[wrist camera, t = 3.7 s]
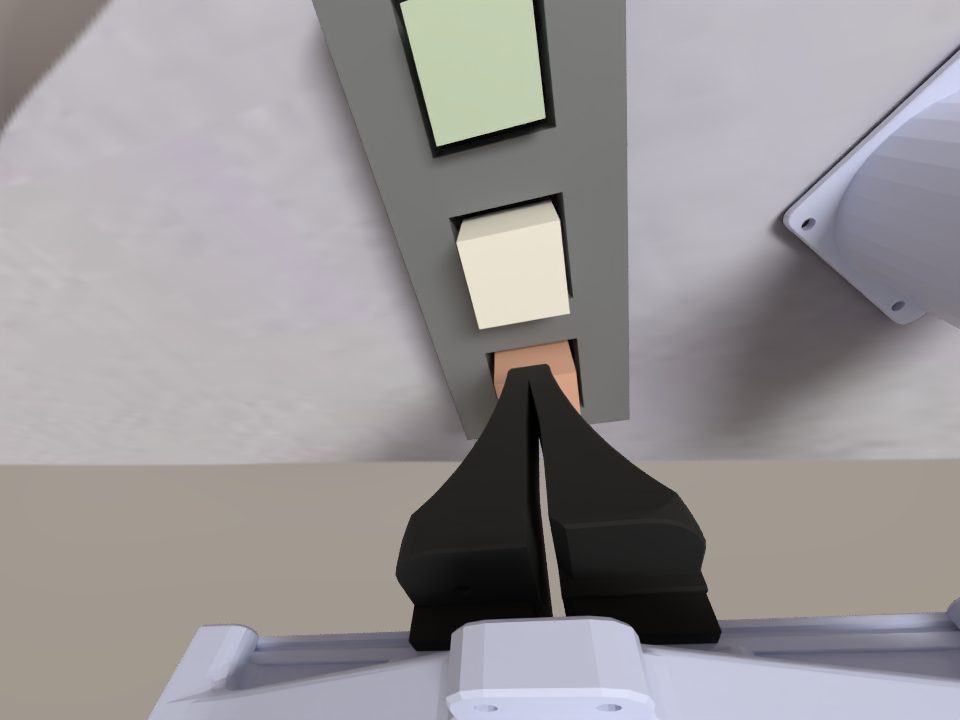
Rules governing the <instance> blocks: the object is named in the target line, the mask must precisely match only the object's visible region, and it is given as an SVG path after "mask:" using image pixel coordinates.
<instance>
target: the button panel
mask: <svg viewBox="0 0 960 720" xmlns="http://www.w3.org/2000/svg"><path fill="white" fill-rule="evenodd" d="M405 1H408V0H312V2H313V5H314V8H315V11H316V14H317V16H318V19H319V22H320V25H321V28H322V30H323V33H324V36H325V39H326V42H327V45H328V47H329V50H330V53H331V56H332V59H333V62H334V64H335V67H336V70H337V73H338V76H339V78H340V81H341V84H342V87H343V90H344V93H345V95H346V98H347V101H348V104H349V107H350V110H351V112H352V115H353V118H354V121H355V124H356V126H357V129H358V132H359V135H360V138H361V141H362V143H363V146H364V149H365V152H366V155H367V158H368V160H369V163H370V166H371V169H372V172H373V174H374V177H375V180H376V183H377V186H378V189H379V191H380V194H381V197H382V200H383V203H384V206H385V208H386V211H387V214H388V217H389V220H390V222H391V225H392V228H393V231H394V234H395V237H396V239H397V242H398V245H399V248H400V251H401V254H402V256H403V259H404V262H405V265H406V268H407V270H408V273H409V276H410V279H411V282H412V285H413V287H414V290H415V293H416V296H417V299H418V302H419V304H420V307H421V310H422V313H423V316H424V318H425V321H426V324H427V327H428V330H429V333H430V335H431V338H432V341H433V344H434V347H435V350H436V352H437V355H438V358H439V361H440V364H441V366H442V369H443V372H444V375H445V378H446V381H447V383H448V386H449V389H450V392H451V395H452V398H453V400H454V403H455V406H456V409H457V412H458V414H459V417H460V420H461V423H462V426H463V429H464V431H465V434H466V437H467V440H471V439H478V438H479V437H480V436H481V434H482V432H483V430H484V429H485V427H486V425H487V423H488V421H489V419H490V417H491V415H492V413H493V411H494V409H495V407H496V404H497V402H498V397H497V394H496V390H495V386H494V368H495V359H494V355H493V352H497V351H503V350H509V349H515V348H521V347H527V346H533V345H539V344H545V343H551V342H557V341H563V340H569V339H572V342H573V351H574V360H575V369H576V375H577V385H578V394H579V403H580V413H581V416H582V417H583V419H584V420H585V421H586V422H587V423H588V424H596V423H604V422H612V421H620V420H628V419H629V317H628V205H627V93H626V0H536V8H537V17H538V27H539V36H540V45H541V54H542V64H543V73H544V82H545V91H546V101H547V110H548V119H549V122H548V123H544V124H540V125H536V126H532V127H529V128H525V129H521V130H517V131H513V132H509V133H506V134H502V135H498V136H494V137H490V138H486V139H483V140H479V141H475V142H471V143H467V144H463V145H460V146H456V147H452V148H448V149H444V150H442V149H441V146H437V145H436V141H435V138H434V134H433V130H432V126H431V122H430V118H429V114H428V110H427V107H426V103H425V99H424V95H423V91H422V87H421V83H420V79H419V76H418V72H417V68H416V64H415V60H414V56H413V52H412V48H411V45H410V41H409V37H408V33H407V29H406V25H405V21H404V17H403V14H402V10H401V6H400V3H402V2H405ZM556 193H557V203H558V212H559V219H560V226H561V235H562V245H563V254H564V263H565V273H566V282H567V291H568V301H569V310H570V314H564V315H559V316H553V317H547V318H542V319H536V320H530V321H525V322H519V323H513V324H508V325H502V326H496V327H491V328H485V329H479V326H478V322H477V318H476V315H475V311H474V307H473V303H472V300H471V296H470V292H469V288H468V285H467V281H466V277H465V273H464V270H463V266H462V262H461V258H460V255H459V251H458V247H457V243H456V242H457V239H458V235H459V232H460V228H461V224H460V220H459V216H460V215H464V214H468V213H473V212H477V211H482V210H486V209H490V208H495V207H499V206H503V205H508V204H512V203H517V202H521V201H525V200H530V199H534V198H538V197H543V196H547V195H551V194H556Z"/></svg>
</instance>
